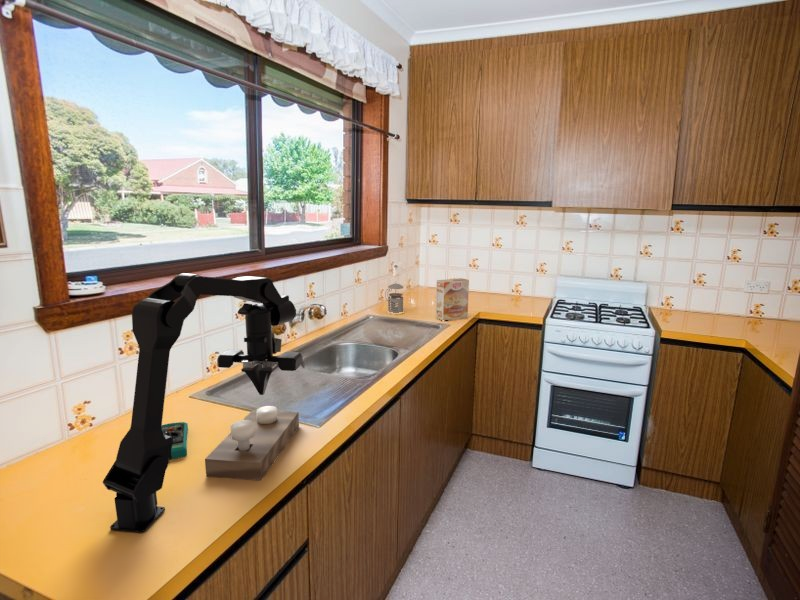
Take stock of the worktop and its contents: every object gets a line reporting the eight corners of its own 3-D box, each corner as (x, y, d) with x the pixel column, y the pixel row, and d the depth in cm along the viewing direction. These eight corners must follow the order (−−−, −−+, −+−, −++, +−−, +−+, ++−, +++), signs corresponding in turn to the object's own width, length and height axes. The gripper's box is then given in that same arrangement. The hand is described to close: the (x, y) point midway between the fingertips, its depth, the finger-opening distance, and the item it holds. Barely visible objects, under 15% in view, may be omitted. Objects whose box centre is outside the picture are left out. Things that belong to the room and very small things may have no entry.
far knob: (273, 440, 113) (272, 414, 112) (254, 439, 114) (253, 413, 112) (281, 430, 118) (279, 406, 116) (262, 429, 118) (261, 405, 117)
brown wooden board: (261, 480, 97) (260, 462, 96) (206, 476, 98) (204, 458, 98) (299, 426, 120) (298, 412, 120) (254, 423, 122) (253, 409, 121)
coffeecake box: (443, 321, 227) (444, 282, 223) (435, 318, 233) (435, 279, 229) (468, 318, 234) (469, 279, 230) (459, 315, 240) (460, 277, 236)
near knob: (250, 459, 100) (248, 430, 99) (228, 457, 100) (226, 429, 99) (259, 447, 105) (257, 420, 103) (238, 446, 105) (236, 419, 104)
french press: (396, 315, 239) (396, 266, 234) (380, 312, 247) (379, 264, 242) (408, 312, 246) (409, 265, 241) (392, 309, 254) (393, 263, 249)
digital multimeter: (188, 429, 119) (187, 419, 119) (187, 458, 106) (186, 446, 105) (156, 435, 117) (154, 424, 116) (150, 465, 103) (149, 453, 103)
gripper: (308, 323, 115) (310, 384, 118) (236, 321, 117) (239, 380, 120) (293, 335, 105) (295, 401, 108) (213, 332, 107) (218, 397, 110)
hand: (262, 394), depth 112 cm, fingers closed
